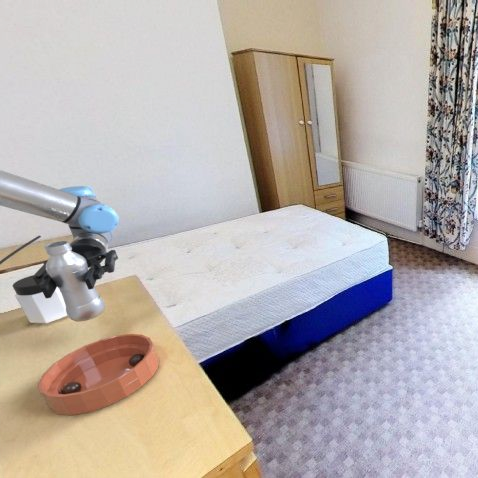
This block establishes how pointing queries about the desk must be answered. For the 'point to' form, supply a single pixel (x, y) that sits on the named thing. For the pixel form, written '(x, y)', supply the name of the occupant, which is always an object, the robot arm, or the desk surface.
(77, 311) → the plastic bottle
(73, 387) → the bead
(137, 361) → the bead
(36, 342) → the desk surface
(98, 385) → the bowl
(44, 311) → the jar
